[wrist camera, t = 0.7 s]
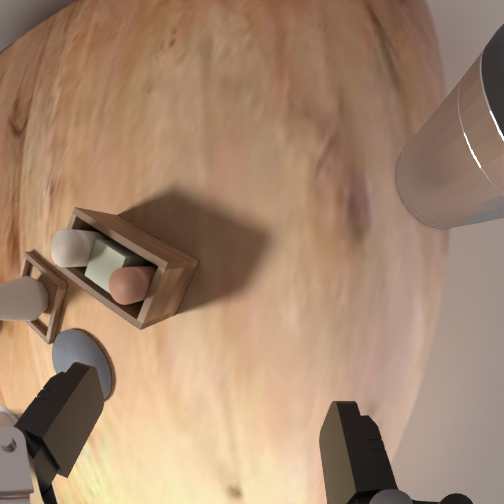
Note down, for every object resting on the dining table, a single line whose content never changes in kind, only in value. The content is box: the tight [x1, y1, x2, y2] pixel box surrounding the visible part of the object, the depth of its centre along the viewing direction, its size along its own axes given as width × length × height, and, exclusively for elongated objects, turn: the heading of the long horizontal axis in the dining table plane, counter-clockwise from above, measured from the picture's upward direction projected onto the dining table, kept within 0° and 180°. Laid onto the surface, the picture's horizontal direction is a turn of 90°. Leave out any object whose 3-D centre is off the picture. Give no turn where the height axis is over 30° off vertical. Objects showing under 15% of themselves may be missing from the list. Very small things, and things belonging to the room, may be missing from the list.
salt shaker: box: [0, 276, 49, 321], centre depth 27 cm, size 6×6×13 cm
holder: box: [19, 252, 68, 344], centre depth 33 cm, size 9×9×1 cm
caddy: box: [51, 207, 199, 330], centre depth 26 cm, size 6×11×9 cm, turn 64°
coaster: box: [52, 329, 112, 400], centre depth 32 cm, size 10×10×1 cm
